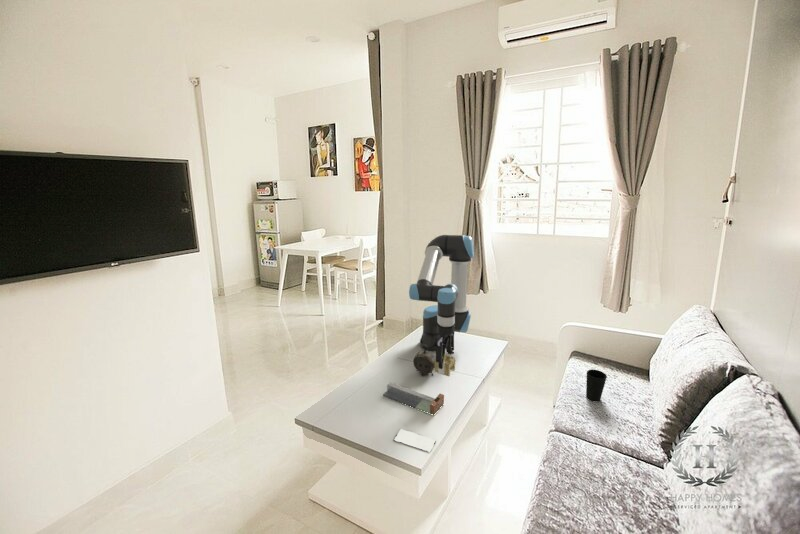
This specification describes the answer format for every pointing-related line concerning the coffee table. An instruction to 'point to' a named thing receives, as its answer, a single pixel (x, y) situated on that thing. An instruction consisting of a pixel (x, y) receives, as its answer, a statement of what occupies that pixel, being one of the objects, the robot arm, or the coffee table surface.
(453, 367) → the clip
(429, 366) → the alarm clock
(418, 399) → the rail
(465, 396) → the coffee table surface
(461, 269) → the robot arm
